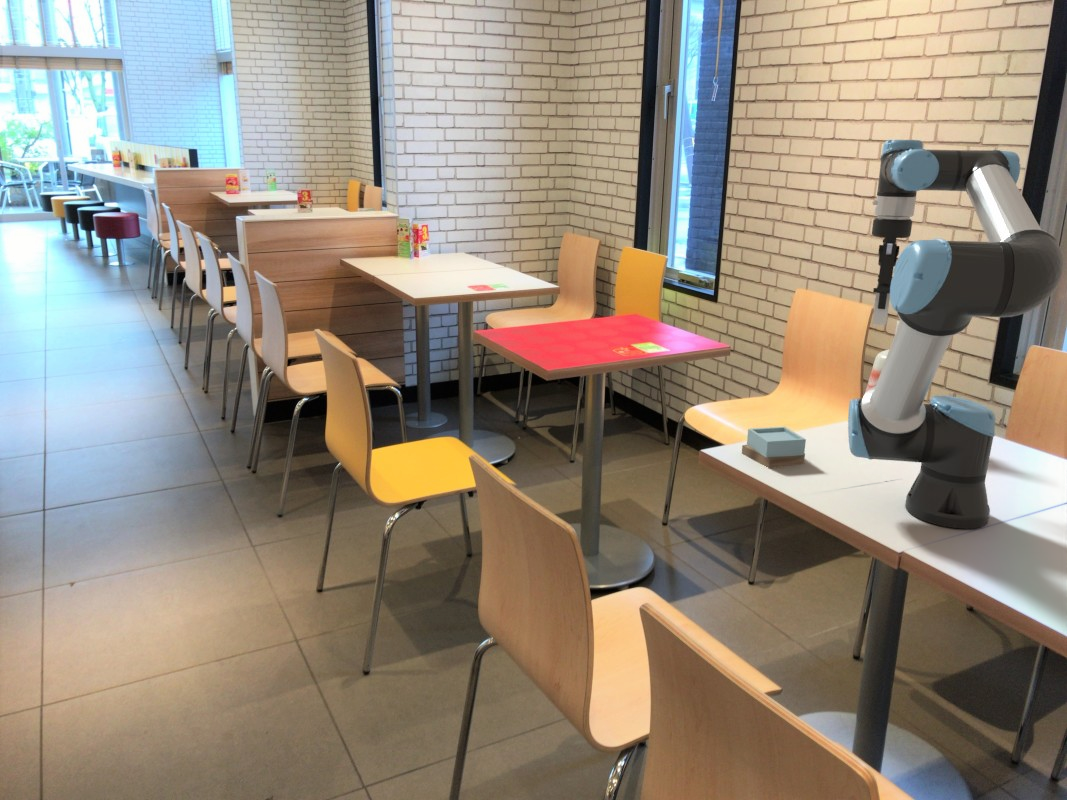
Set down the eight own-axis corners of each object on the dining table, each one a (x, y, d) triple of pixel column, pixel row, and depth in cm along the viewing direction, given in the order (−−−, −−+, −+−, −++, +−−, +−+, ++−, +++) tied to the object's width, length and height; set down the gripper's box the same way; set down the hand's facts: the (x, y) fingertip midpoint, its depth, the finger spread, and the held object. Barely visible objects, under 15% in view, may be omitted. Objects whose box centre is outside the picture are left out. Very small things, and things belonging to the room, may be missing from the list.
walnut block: (803, 465, 193) (805, 453, 192) (768, 471, 189) (769, 459, 188) (775, 451, 201) (776, 440, 200) (741, 457, 197) (742, 445, 197)
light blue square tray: (804, 455, 191) (805, 439, 190) (766, 457, 189) (767, 441, 187) (783, 441, 199) (784, 426, 198) (746, 444, 197) (748, 428, 196)
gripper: (874, 213, 185) (862, 308, 191) (872, 220, 163) (858, 327, 169) (911, 214, 182) (898, 310, 188) (914, 222, 160) (898, 330, 166)
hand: (879, 318), depth 179 cm, fingers open, 13 cm apart
